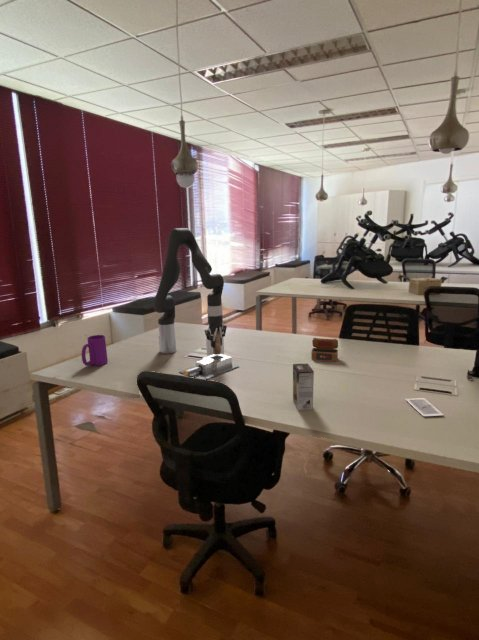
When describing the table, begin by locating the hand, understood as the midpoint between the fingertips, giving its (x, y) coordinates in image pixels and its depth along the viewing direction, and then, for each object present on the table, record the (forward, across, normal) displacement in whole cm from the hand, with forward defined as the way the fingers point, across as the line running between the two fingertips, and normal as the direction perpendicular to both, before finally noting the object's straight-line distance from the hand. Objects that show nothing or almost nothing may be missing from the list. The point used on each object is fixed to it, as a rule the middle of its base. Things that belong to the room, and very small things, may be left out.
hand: (216, 346), depth 199 cm
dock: (+11, +5, 0) cm, 12 cm away
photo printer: (+11, -12, -14) cm, 22 cm away
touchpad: (+13, -18, +96) cm, 99 cm away
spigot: (+4, 0, 0) cm, 4 cm away
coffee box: (+12, +9, +59) cm, 61 cm away
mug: (+11, +40, -54) cm, 68 cm away
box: (+12, -45, +36) cm, 59 cm away
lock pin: (+10, +15, 0) cm, 18 cm away
